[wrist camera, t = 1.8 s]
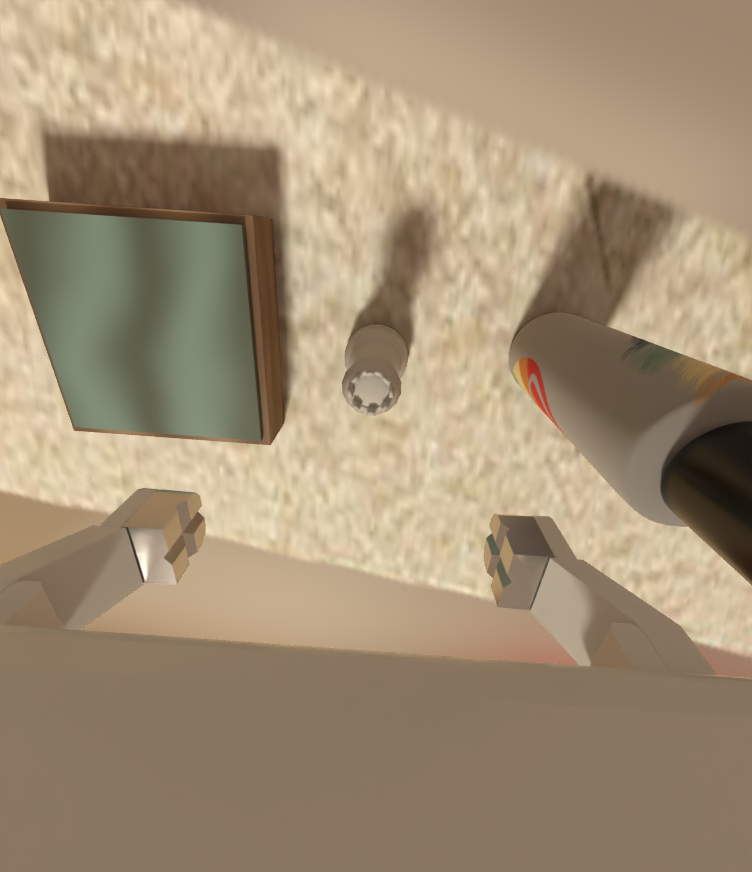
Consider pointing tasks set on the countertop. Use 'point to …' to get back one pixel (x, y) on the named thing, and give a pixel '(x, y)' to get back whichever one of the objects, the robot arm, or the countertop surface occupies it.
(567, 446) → the countertop surface
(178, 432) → the walnut plinth
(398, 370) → the rook chess piece
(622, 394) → the lotion bottle
